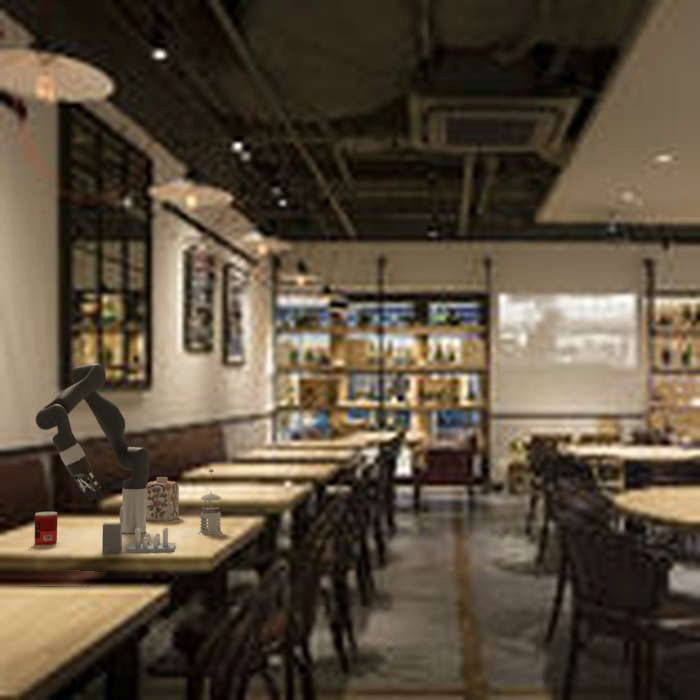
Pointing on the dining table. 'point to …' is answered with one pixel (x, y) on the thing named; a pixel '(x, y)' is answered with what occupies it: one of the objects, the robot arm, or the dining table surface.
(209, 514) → the french press
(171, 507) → the decorative jar
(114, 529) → the block
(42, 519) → the canned food
